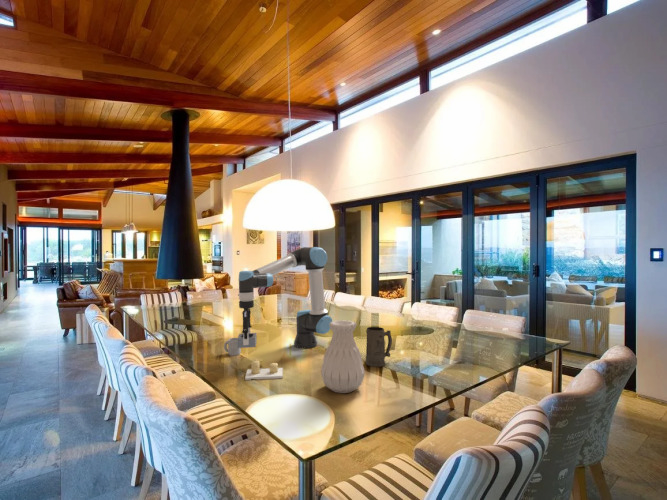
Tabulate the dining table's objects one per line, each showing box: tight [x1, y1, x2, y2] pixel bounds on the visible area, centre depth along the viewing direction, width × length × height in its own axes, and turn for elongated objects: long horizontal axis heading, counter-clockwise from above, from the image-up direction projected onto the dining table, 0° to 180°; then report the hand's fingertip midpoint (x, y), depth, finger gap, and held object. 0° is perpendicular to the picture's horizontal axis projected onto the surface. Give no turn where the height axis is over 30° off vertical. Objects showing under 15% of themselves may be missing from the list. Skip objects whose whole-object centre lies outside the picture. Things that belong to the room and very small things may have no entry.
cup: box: [223, 337, 242, 357], centre depth 216 cm, size 7×10×9 cm
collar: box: [236, 332, 257, 349], centre depth 190 cm, size 9×9×5 cm
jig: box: [244, 360, 284, 381], centre depth 180 cm, size 18×12×7 cm, turn 98°
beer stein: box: [365, 326, 393, 368], centre depth 199 cm, size 15×11×20 cm
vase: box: [320, 319, 366, 394], centre depth 163 cm, size 20×20×30 cm
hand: (246, 342), depth 190 cm, fingers closed on collar, 9 cm apart
